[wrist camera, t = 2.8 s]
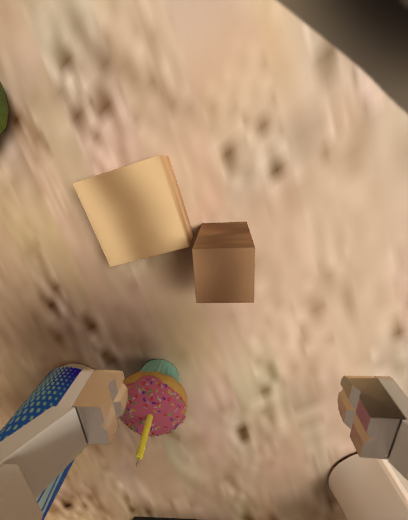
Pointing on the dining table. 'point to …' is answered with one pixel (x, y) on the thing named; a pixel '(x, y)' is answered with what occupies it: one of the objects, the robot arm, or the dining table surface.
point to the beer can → (34, 406)
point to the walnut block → (224, 263)
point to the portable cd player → (152, 519)
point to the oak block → (136, 210)
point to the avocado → (3, 109)
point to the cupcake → (154, 401)
